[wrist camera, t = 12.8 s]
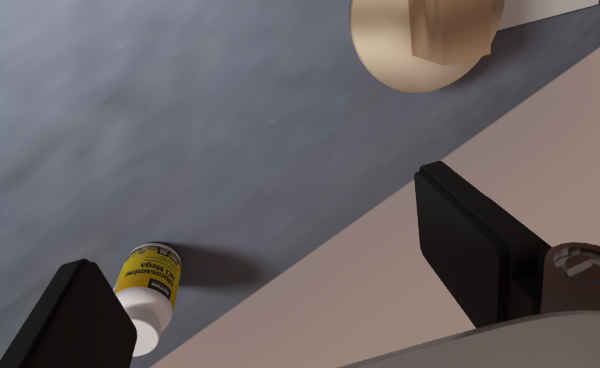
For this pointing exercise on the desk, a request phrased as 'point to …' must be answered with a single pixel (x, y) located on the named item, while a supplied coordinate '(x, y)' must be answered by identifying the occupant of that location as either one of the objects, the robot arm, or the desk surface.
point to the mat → (537, 10)
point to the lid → (422, 39)
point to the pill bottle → (149, 291)
